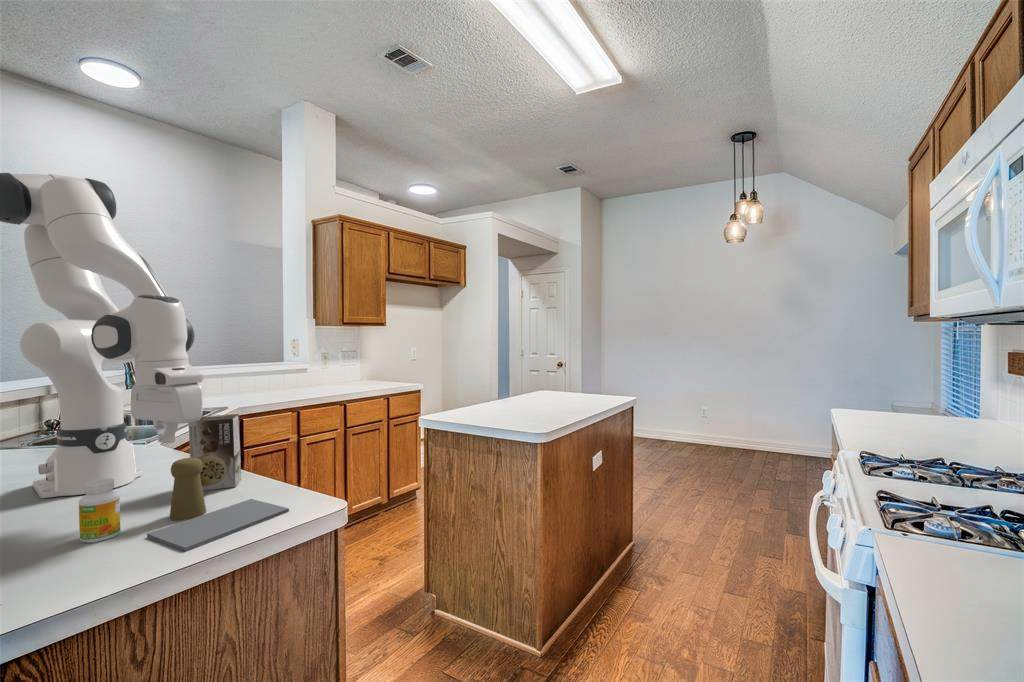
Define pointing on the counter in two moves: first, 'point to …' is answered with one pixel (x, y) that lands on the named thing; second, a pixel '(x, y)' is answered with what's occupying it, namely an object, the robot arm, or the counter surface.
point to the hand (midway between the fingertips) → (166, 442)
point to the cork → (187, 490)
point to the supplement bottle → (99, 511)
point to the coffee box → (217, 450)
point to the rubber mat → (216, 524)
